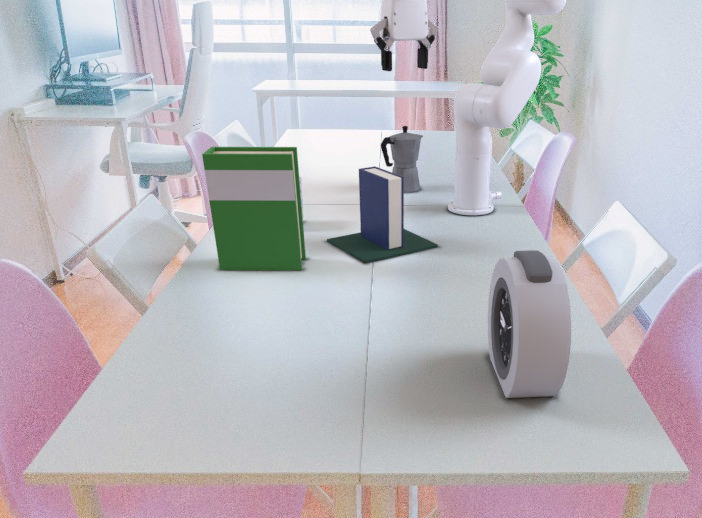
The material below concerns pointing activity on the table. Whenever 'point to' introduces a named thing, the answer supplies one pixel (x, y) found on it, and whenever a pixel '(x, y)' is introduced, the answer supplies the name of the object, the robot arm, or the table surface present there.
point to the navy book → (382, 207)
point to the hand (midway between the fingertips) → (404, 69)
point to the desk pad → (373, 252)
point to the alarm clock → (529, 325)
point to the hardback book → (256, 207)
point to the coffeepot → (404, 157)
